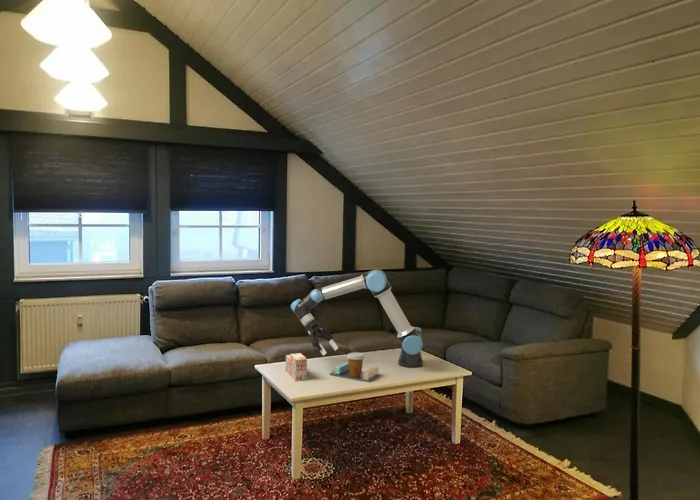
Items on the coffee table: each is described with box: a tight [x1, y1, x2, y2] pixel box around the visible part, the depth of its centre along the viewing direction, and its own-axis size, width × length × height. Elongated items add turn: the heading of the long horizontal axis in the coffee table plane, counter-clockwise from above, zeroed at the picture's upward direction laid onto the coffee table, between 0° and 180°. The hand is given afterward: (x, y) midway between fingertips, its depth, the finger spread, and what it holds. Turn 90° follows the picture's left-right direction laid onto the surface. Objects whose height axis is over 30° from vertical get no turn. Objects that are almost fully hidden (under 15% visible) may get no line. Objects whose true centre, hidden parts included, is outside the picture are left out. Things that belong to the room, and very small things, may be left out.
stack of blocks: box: [285, 352, 308, 382], centre depth 315 cm, size 21×6×12 cm, turn 22°
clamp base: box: [329, 366, 381, 383], centre depth 317 cm, size 25×14×5 cm, turn 62°
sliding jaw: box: [334, 361, 349, 374], centre depth 321 cm, size 3×13×4 cm, turn 152°
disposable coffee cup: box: [346, 351, 365, 377], centre depth 314 cm, size 10×10×12 cm
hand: (331, 351), depth 324 cm, fingers open, 13 cm apart
